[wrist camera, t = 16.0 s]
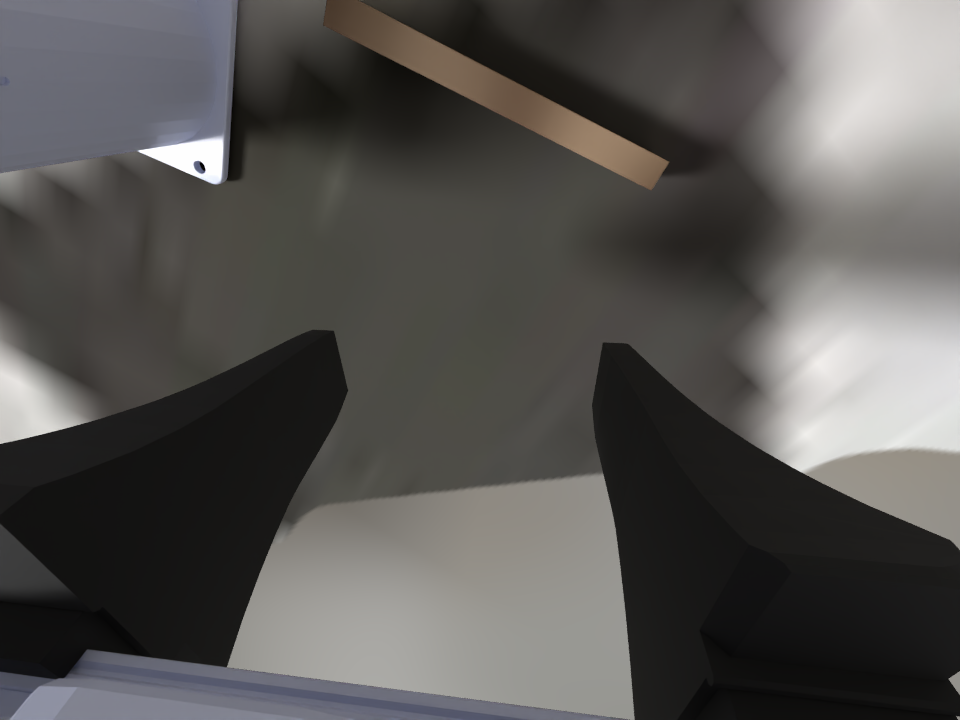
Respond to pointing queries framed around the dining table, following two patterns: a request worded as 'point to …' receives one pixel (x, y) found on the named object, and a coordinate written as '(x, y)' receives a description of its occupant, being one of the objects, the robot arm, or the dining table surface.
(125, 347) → the dining table surface
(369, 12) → the walnut rack
